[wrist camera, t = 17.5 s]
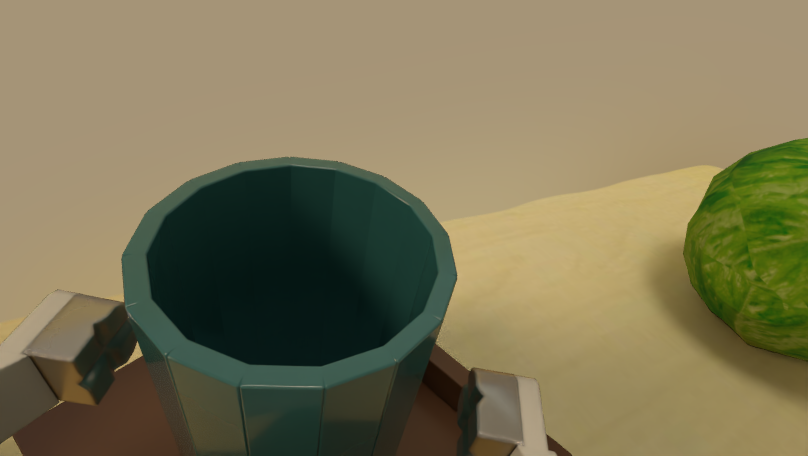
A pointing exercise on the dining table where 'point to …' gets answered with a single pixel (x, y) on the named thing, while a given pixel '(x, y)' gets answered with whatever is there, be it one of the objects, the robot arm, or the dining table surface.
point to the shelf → (154, 443)
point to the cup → (288, 307)
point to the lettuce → (756, 248)
